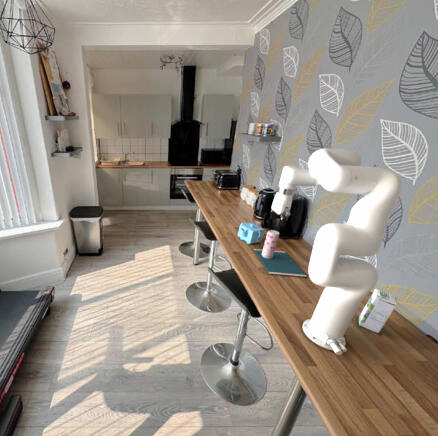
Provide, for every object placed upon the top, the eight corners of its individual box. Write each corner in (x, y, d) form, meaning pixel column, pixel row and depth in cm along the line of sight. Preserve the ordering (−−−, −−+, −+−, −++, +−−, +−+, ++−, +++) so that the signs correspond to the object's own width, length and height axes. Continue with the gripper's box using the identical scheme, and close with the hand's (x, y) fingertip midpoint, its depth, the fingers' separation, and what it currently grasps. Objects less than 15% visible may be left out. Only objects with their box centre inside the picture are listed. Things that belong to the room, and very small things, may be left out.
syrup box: (358, 316, 93) (374, 287, 87) (378, 324, 90) (396, 295, 84) (358, 325, 89) (375, 295, 83) (379, 334, 85) (398, 303, 80)
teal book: (307, 277, 115) (307, 276, 115) (269, 274, 116) (269, 273, 116) (284, 251, 137) (284, 251, 137) (253, 249, 138) (253, 248, 138)
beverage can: (273, 259, 128) (280, 235, 122) (261, 257, 130) (268, 233, 124) (271, 254, 133) (278, 230, 127) (260, 252, 135) (267, 229, 129)
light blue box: (268, 244, 145) (272, 227, 140) (245, 248, 138) (249, 231, 134) (249, 233, 158) (253, 217, 154) (227, 236, 152) (231, 220, 147)
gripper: (271, 186, 124) (263, 216, 131) (286, 195, 109) (276, 229, 115) (285, 187, 124) (277, 217, 131) (302, 196, 108) (292, 230, 115)
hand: (276, 222), depth 123 cm, fingers open, 9 cm apart
